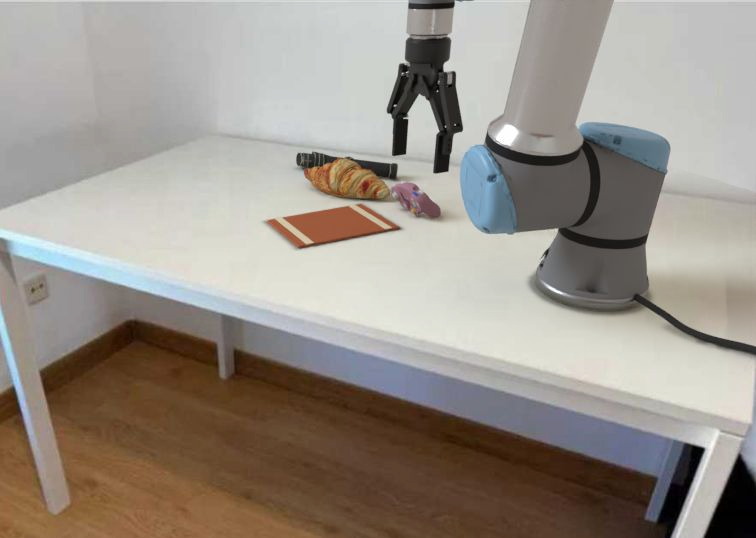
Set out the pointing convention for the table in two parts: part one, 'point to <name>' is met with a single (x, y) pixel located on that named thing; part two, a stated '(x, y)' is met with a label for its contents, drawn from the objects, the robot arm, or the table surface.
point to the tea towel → (331, 225)
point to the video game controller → (415, 199)
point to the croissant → (347, 180)
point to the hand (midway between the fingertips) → (418, 163)
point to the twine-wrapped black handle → (321, 159)
